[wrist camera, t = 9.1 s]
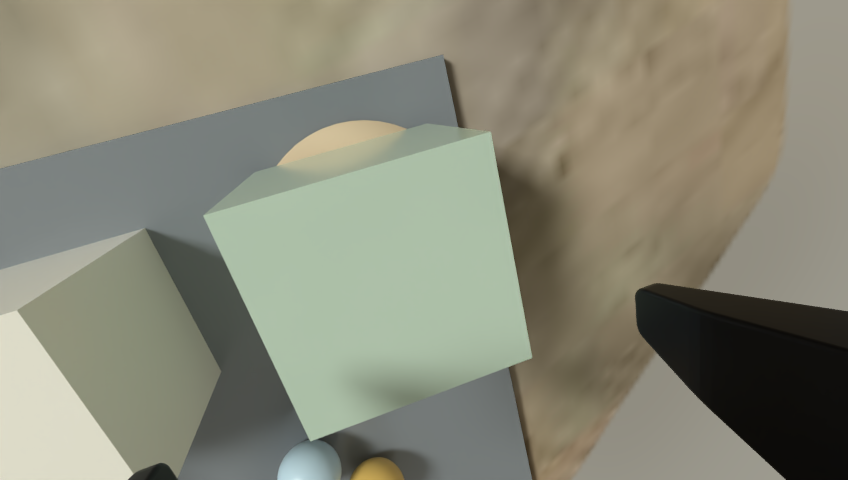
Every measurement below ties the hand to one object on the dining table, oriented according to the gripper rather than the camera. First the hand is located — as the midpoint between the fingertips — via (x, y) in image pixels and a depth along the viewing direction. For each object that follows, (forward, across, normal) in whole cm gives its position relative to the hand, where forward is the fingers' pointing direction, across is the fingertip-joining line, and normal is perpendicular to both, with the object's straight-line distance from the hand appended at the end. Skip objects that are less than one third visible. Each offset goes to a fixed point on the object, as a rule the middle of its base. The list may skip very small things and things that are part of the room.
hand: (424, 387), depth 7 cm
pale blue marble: (+11, +6, +11) cm, 17 cm away
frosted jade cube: (+11, 0, 0) cm, 11 cm away
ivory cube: (+11, +12, +1) cm, 16 cm away
